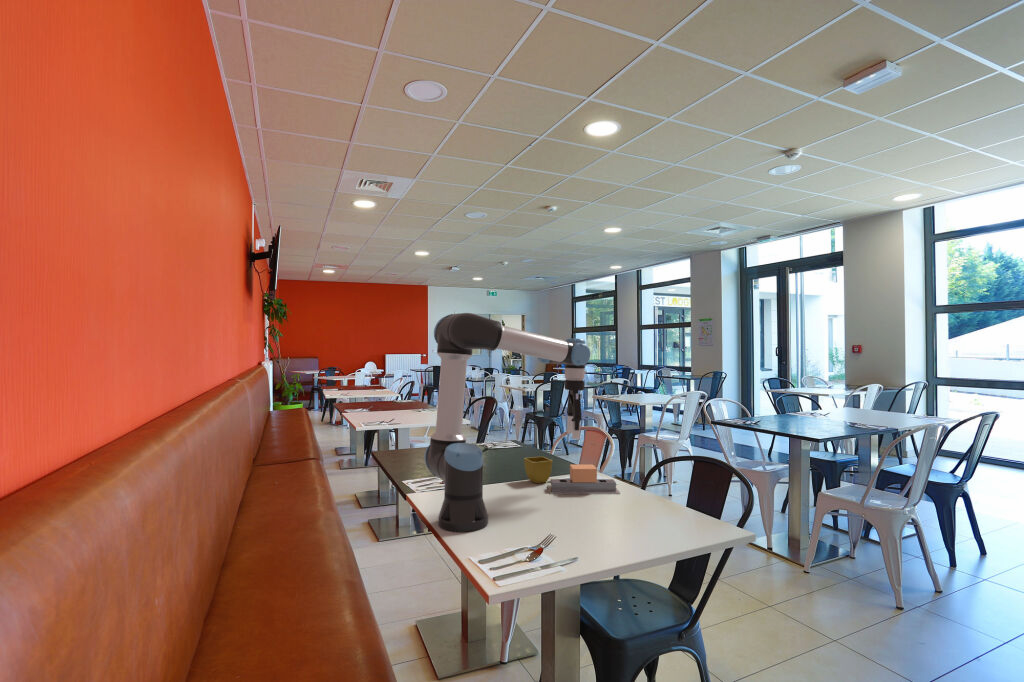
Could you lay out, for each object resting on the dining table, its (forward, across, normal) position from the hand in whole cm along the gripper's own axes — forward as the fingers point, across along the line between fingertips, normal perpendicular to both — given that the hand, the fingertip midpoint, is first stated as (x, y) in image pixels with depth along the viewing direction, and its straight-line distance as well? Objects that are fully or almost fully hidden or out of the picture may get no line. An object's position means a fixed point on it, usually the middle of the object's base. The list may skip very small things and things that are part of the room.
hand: (573, 436), depth 195 cm
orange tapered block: (+20, +1, -4) cm, 21 cm away
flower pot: (+21, +13, +12) cm, 27 cm away
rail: (+20, +1, -4) cm, 21 cm away
